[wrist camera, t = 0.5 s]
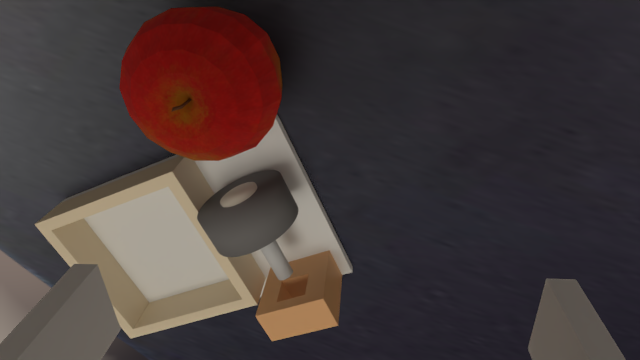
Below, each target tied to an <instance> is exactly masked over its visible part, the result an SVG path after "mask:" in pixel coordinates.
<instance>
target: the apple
mask: <svg viewBox="0 0 640 360" xmlns="http://www.w3.org/2000/svg"><path fill="white" fill-rule="evenodd" d="M120 91H121V94H122V96H123V99H124V102H125V104H126V107H127V110H128V112H129V115H130V116H131V118H132V119H133V120H134V121H135V123H136V124H137V125H138V127H139V128H140V129H141V130H142V132H143V133H144V134H145V135H146V137H147V138H149V139H150V140H152V141H153V142H155V143H157V144H158V145H160V146H161V147H163V148H164V149H166V150H167V151H169V152H171V153H174V154H177V155H180V156H183V157H186V158H188V159H191V160H194V161H220V160H223V159H226V158H229V157H232V156H235V155H237V154H240V153H242V152H244V151H247V150H249V149H252V148H254V147H256V146H257V145H258V144H259V143H260V141H261V140H262V139H263V138H264V137H265V135H266V134H267V133H268V132H269V130H270V129H271V128H272V127H273V125H274V121H275V118H276V115H277V111H278V108H279V105H280V102H281V97H282V76H281V67H280V58H279V56H278V54H277V52H276V50H275V48H274V46H273V44H272V42H271V40H270V38H269V36H268V33H266V32H265V31H264V30H263V29H262V28H261V27H259V26H258V25H257V24H256V23H255V22H253V21H252V20H251V19H250V18H249V17H247V16H246V15H245V14H241V13H238V12H234V11H231V10H228V9H224V8H221V7H185V8H171V9H169V10H167V11H165V12H163V13H161V14H159V15H157V16H155V17H154V18H152V19H150V20H148V21H146V22H144V24H143V25H142V27H141V28H140V30H139V31H138V32H137V34H136V35H135V37H134V38H133V40H132V41H131V43H130V44H129V46H128V47H127V50H126V52H125V55H124V57H123V60H122V66H121V78H120Z"/></svg>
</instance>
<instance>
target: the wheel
mask: <svg viewBox="0 0 640 360" xmlns="http://www.w3.org/2000/svg"><path fill="white" fill-rule="evenodd" d="M298 211H299V210H298V206H297V204H296V202H295V200H294V198H293V196H292V194H291V192H290V190H289V188H288V186H287V185H286V183H285V181H284V179H283V177H282V175H281V173H280V172H279V171H276V170H263V171H258V172H255V173H252V174H249V175H246V176H244V177H242V178H240V179H238V180H236V181H234V182H232V183H230V184H228V185H227V186H225V187H224V188H222V189H221V190H219V191H218V192H217V193H215V194H214V195H213V196H212V197H210V198H209V199H208V200H207V201H206V202H205V203H204V205H203V206H202V207H201V208H200V210H199V212H198V215H197V220H198V222H199V223H200V225H201V226H202V228H203V229H204V231H205V233H206V234H207V236H208V237H209V239H210V240H211V242H212V243H213V245H214V246H215V248H216V250H217V251H218V253H219V254H220V255H222V256H225V257H239V256H243V255H247V254H250V253H253V252H255V251H257V250H261V251H262V253H263V255H264V256H265V258H266V260H267V261H268V263H269V265H270V266H271V268H272V270H273V271H274V273H275V275H276V277H277V278H278V280H285V279H287V278H289V277H290V276H291V275H292V273H293V270H292V268H291V266H290V264H289V263H288V261H287V259H286V257H285V256H284V254H283V252H282V250H281V249H280V247H279V245H278V243H277V242H276V239H278V238H279V237H280V236H281V235H283V234H284V233H285V232H286V231H287V230H288V229H289V228H290V227H291V225H292V224H293V223H294V221H295V219H296V218H297V215H298Z"/></svg>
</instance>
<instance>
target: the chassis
mask: <svg viewBox="0 0 640 360" xmlns="http://www.w3.org/2000/svg"><path fill="white" fill-rule="evenodd" d="M263 170H276V171H279V172H280V173H281V175H282V177H283V179H284V181H285V183H286V185H287V186H288V188H289V190H290V192H291V194H292V196H293V198H294V200H295V202H296V204H297V206H298V210H299V211H298V215H297V218H296V219H295V221H294V223H293V224H292V225H291V227H290V228H289V229H288V230H287V231H286V232H285V233H284V234H283V235H281V236H280V237H279V238H278V239H276V242H277V243H278V245H279V247H280V249H281V250H282V252H283V254H284V256H285V257H286V259H287V261H288V263H289V264H290V266H291V268H292V270H293V273H292V275H291V276H290V277H289V278H287V279H285V280H278V278H277V277H276V275H275V273H274V271H273V270H272V268H271V266H270V265H269V263H268V261H267V260H266V258H265V256H264V255H263V253H262V251H261V250H257V251H255V252H253V253H250V254H247V255H243V256H239V257H225V256H222V255H220V254H219V253H218V251H217V250H216V248H215V246H214V245H213V243H212V242H211V240H210V239H209V237H208V236H207V234H206V233H205V231H204V229H203V228H202V226H201V225H200V223H199V222H198V220H197V215H198V212H199V210H200V208H201V207H202V206H203V205H204V203H205V202H206V201H207V200H208V199H209V198H210V197H212V196H213V195H214V194H215V193H217V192H218V191H219V190H221V189H222V188H224V187H225V186H227V185H228V184H230V183H232V182H234V181H236V180H238V179H240V178H242V177H244V176H246V175H249V174H252V173H255V172H258V171H263ZM35 226H36V227H37V228H38V229H39V230H40V232H41V233H42V234H43V235H44V236H45V238H46V239H47V240H48V241H49V242H50V243H51V245H52V246H53V247H54V248H55V249H56V251H57V252H58V253H59V254H60V255H61V257H62V258H63V259H64V260H65V261H66V262H67V264H68V265H69V266H70V267H72V266H73V265H74V264H98V267H99V270H100V273H101V275H102V278H103V281H104V284H105V287H106V289H107V292H108V295H109V298H110V300H111V303H112V306H113V309H114V311H115V314H116V317H117V320H118V323H119V325H120V327H121V328H122V329H123V330H124V331H125V333H126V334H127V335H128V336H129V337H130V338H135V337H138V336H142V335H146V334H150V333H153V332H157V331H161V330H165V329H168V328H172V327H176V326H179V325H183V324H187V323H191V322H194V321H198V320H202V319H206V318H209V317H213V316H217V315H221V314H224V313H228V312H232V311H236V310H239V309H243V308H247V307H251V306H254V305H258V301H259V298H260V297H261V300H260V303H259V306H258V309H257V313H256V318H257V319H258V321H259V322H260V324H261V325H262V327H263V329H264V330H265V332H266V333H267V335H268V336H269V338H270V339H271V341H275V340H280V339H284V338H288V337H292V336H296V335H301V334H305V333H309V332H313V331H317V330H322V329H326V328H330V327H334V326H338V321H339V309H340V296H341V284H342V275H344V274H347V273H351V272H352V268H353V266H352V264H351V262H350V260H349V258H348V256H347V254H346V252H345V250H344V248H343V246H342V244H341V242H340V240H339V238H338V236H337V234H336V232H335V230H334V228H333V226H332V224H331V222H330V220H329V218H328V216H327V214H326V212H325V210H324V208H323V206H322V204H321V202H320V200H319V198H318V196H317V194H316V191H315V189H314V187H313V185H312V183H311V181H310V179H309V177H308V175H307V173H306V171H305V169H304V167H303V165H302V163H301V161H300V159H299V157H298V155H297V153H296V151H295V149H294V147H293V145H292V143H291V141H290V139H289V137H288V135H287V133H286V131H285V129H284V127H283V125H282V123H281V121H280V119H279V117H278V115H276V118H275V121H274V125H273V127H272V128H271V129H270V130H269V132H268V133H267V134H266V135H265V137H264V138H263V139H262V140H261V141H260V143H259V144H258V145H257V146H256V147H254V148H252V149H249V150H247V151H244V152H242V153H240V154H237V155H235V156H232V157H229V158H226V159H223V160H220V161H194V160H191V159H188V158H186V157H183V156H180V155H177V154H176V155H174V156H171V157H169V158H166V159H164V160H161V161H159V162H156V163H154V164H151V165H149V166H146V167H144V168H141V169H139V170H136V171H134V172H131V173H128V174H126V175H123V176H121V177H118V178H116V179H113V180H111V181H108V182H106V183H103V184H101V185H98V186H96V187H93V188H91V189H88V190H86V191H83V192H81V193H78V194H76V195H73V196H71V197H68V198H66V199H65V200H63V201H62V202H61V203H60V204H59V205H57V206H56V207H55V208H54V209H52V210H51V211H50V212H49V213H48V214H46V215H45V216H44V217H43V218H42V219H40V220H39V221H38V222H37V223H36V224H35Z"/></svg>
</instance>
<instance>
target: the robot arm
mask: <svg viewBox="0 0 640 360" xmlns="http://www.w3.org/2000/svg"><path fill="white" fill-rule="evenodd" d="M120 330H121V328H120V325H119V323H118V320H117V317H116V314H115V311H114V309H113V306H112V303H111V300H110V298H109V295H108V292H107V289H106V287H105V284H104V281H103V278H102V275H101V273H100V270H99V267H98V264H74V265H73V266H72V267H71V268H70V269H69V270H68V271H67V272H66V273H65V274H64V275H63V276H62V278H61V279H60V280H59V281H58V282H57V283H56V284H55V285H54V286H53V287H52V288H51V289H50V291H49V292H48V293H47V294H46V295H45V296H44V297H43V298H42V299H41V300H40V301H39V302H38V304H37V305H36V306H35V307H34V308H33V309H32V310H31V311H30V312H29V313H28V314H27V315H26V317H25V318H24V319H23V320H22V321H21V322H20V323H19V324H18V325H17V326H16V327H15V328H14V330H13V331H12V332H11V333H10V334H9V335H8V336H7V337H6V338H5V339H4V340H3V341H2V343H1V344H0V360H101V359H102V357H103V355H104V354H105V353H106V351H107V350H108V348H109V347H110V345H111V343H112V342H113V340H114V339H115V337H116V336H117V334H118V333H119V331H120ZM528 350H529V353H530V355H531V358H532V360H626V359H625V358H624V356H623V355H622V353H621V351H620V350H619V348H618V347H617V345H616V343H615V342H614V340H613V339H612V337H611V335H610V334H609V332H608V330H607V329H606V327H605V326H604V324H603V322H602V321H601V319H600V318H599V316H598V314H597V313H596V311H595V310H594V308H593V306H592V305H591V303H590V302H589V300H588V298H587V297H586V295H585V294H584V292H583V290H582V289H581V287H580V285H579V284H578V282H577V281H576V280H574V279H546V282H545V286H544V289H543V293H542V297H541V301H540V305H539V308H538V312H537V316H536V320H535V324H534V327H533V331H532V335H531V339H530V342H529V346H528Z"/></svg>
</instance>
